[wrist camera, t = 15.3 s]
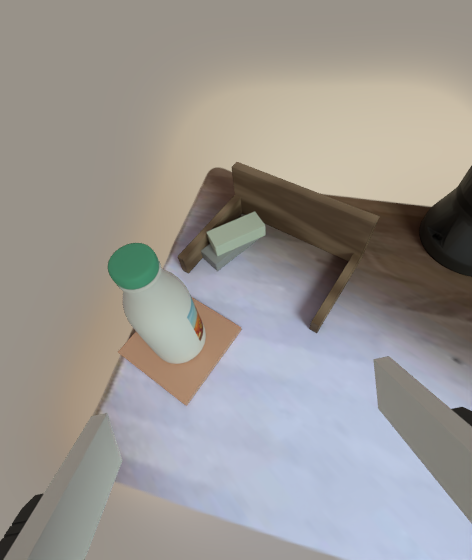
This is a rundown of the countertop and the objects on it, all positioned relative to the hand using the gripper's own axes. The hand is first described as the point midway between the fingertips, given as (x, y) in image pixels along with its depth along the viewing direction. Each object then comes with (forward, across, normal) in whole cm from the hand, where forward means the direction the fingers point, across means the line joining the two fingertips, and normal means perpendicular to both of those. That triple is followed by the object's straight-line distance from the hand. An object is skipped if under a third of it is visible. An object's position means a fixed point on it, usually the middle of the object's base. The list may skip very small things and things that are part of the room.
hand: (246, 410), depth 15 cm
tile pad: (+31, -9, -8) cm, 33 cm away
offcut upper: (+40, +3, +4) cm, 41 cm away
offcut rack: (+38, +8, -1) cm, 39 cm away
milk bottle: (+30, -8, -8) cm, 32 cm away
